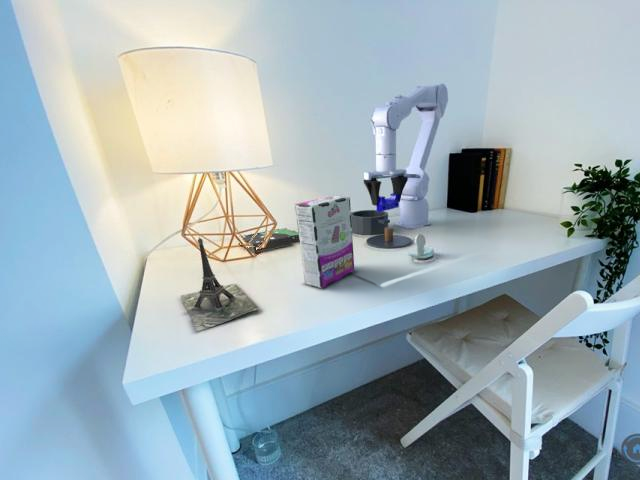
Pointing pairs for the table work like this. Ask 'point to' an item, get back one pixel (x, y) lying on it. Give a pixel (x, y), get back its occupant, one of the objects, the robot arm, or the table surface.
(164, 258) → the table surface
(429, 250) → the pacifier
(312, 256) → the candy bar box
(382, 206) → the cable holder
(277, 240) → the disk drive
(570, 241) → the table surface
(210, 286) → the eiffel tower figurine
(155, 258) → the table surface
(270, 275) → the table surface
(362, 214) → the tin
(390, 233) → the lid
